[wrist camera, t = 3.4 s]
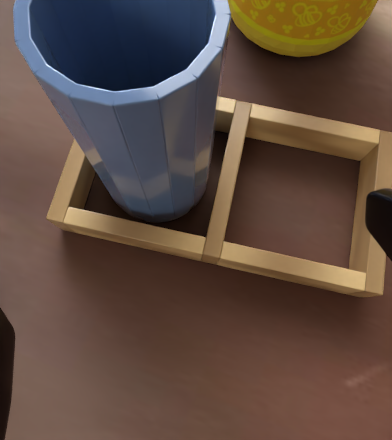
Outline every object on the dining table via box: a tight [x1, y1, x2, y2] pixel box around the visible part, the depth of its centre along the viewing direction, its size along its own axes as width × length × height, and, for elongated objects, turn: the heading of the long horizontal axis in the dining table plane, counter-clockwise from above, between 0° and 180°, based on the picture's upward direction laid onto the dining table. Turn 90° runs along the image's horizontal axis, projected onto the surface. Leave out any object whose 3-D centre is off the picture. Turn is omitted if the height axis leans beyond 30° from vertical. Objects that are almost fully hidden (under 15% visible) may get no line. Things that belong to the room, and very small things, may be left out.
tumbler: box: [13, 0, 231, 223], centre depth 17 cm, size 7×7×13 cm
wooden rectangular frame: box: [46, 97, 392, 298], centre depth 22 cm, size 19×10×2 cm, turn 77°
